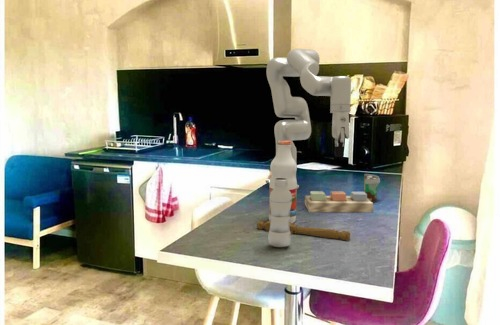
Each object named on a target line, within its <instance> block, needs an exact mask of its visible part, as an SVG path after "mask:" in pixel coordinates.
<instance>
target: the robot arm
mask: <svg viewBox="0 0 500 325" xmlns="http://www.w3.org/2000/svg"><path fill="white" fill-rule="evenodd" d="M320 60H321V59H320V55H319V53H318V52H317V51H316V50H314V49H311V48H310V49H307V48H294V49H291V50H289V51H288V53H287V54H286V56H285V57H284V56H283V57H282V56H281V57H280V56H278V57H273V58H271V59H270V60H269V61H268V62H267V65H266V73H265V74H266V78H267V81H268V84H269V87H270V90H271V96H272V97H271V98H272V103H273V109H274V113H275V115H276V117H278V118H294V119H283V120H278V121H277V122H276V123H275V125H274V127H273V128H274V129H273V130H274V132H273V133H274V138H275V155H276V154H277V150H278V146H277V141H279V140H287V141H291V147H290V150H291V154H292V157H293V159H294V160H295V162H296V163H297V158H298V157H297V147H296V146H295V143H294V142H293V141H303V140H304V141H305V140H308V139H309V138H310V136H311V134H312V125H311V118H310V117H311V116H310V111H309V107H308V103H307V101H306V100H305V99H304V98H303V97H301V96H292V94H291V88H290V86H289V84H288V82H287V80H286V79H284V77H293V78H295V77H299V80H300V84H301V87H302V88H303V89H304V90H305V91H306V92H307V93H309V94H310V95H312V96H316V97H319V96H321V97H322V96H323V97H324V96H325V97H330V106H329V107H330V109H329V111H330V112H329V113H330V114H332V117H331V118H332V120H331V124H332V125H331V136H332V137H333V139H334V157H335V158H343V157H344V155H345V139H348V140H349V138H350V113H351V102H352V101H351V100H352V99H351V96H352V95H351V94H352V79H351V77H349V76H347V75H337V76H336V75H335V76H327V75H326V76H325V75H324V76H322V75H318V74H319V71H320V65H319V64H320ZM295 177H296V178H297V173H296V174H295ZM265 183H266V184H270V178H265ZM299 188H300V184H298V183H297V190H298V189H299Z"/></svg>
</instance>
